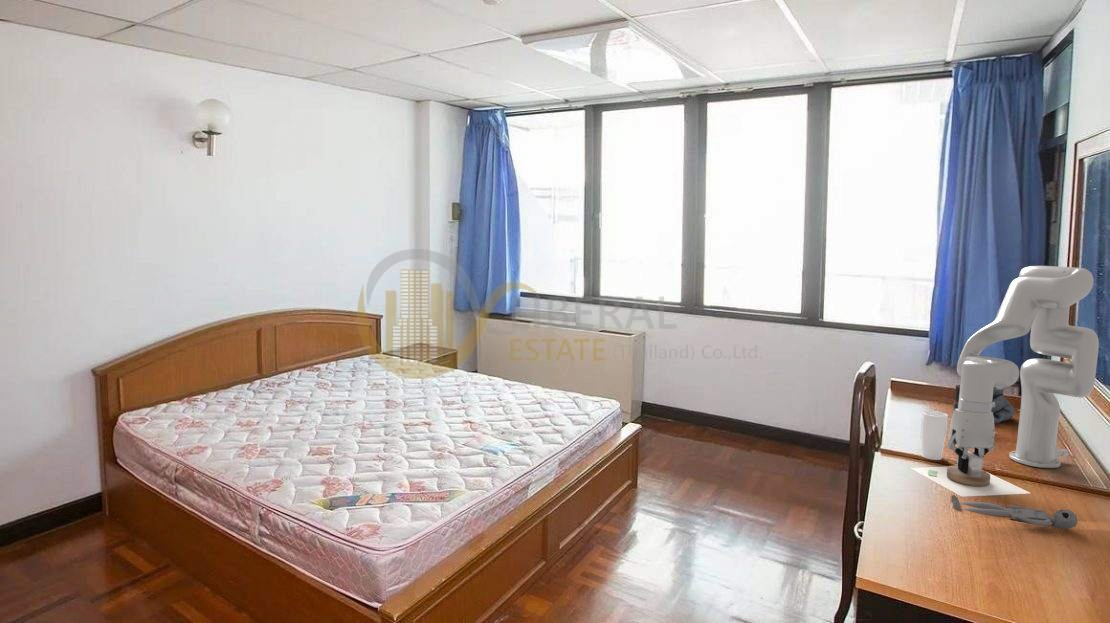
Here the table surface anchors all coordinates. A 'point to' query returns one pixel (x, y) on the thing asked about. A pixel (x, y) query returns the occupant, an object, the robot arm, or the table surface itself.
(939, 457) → the white cup
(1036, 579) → the table surface
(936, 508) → the table surface
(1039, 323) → the robot arm
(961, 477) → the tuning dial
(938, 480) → the white square board
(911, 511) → the table surface
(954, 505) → the alien figure
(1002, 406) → the koala plush
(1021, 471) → the table surface
